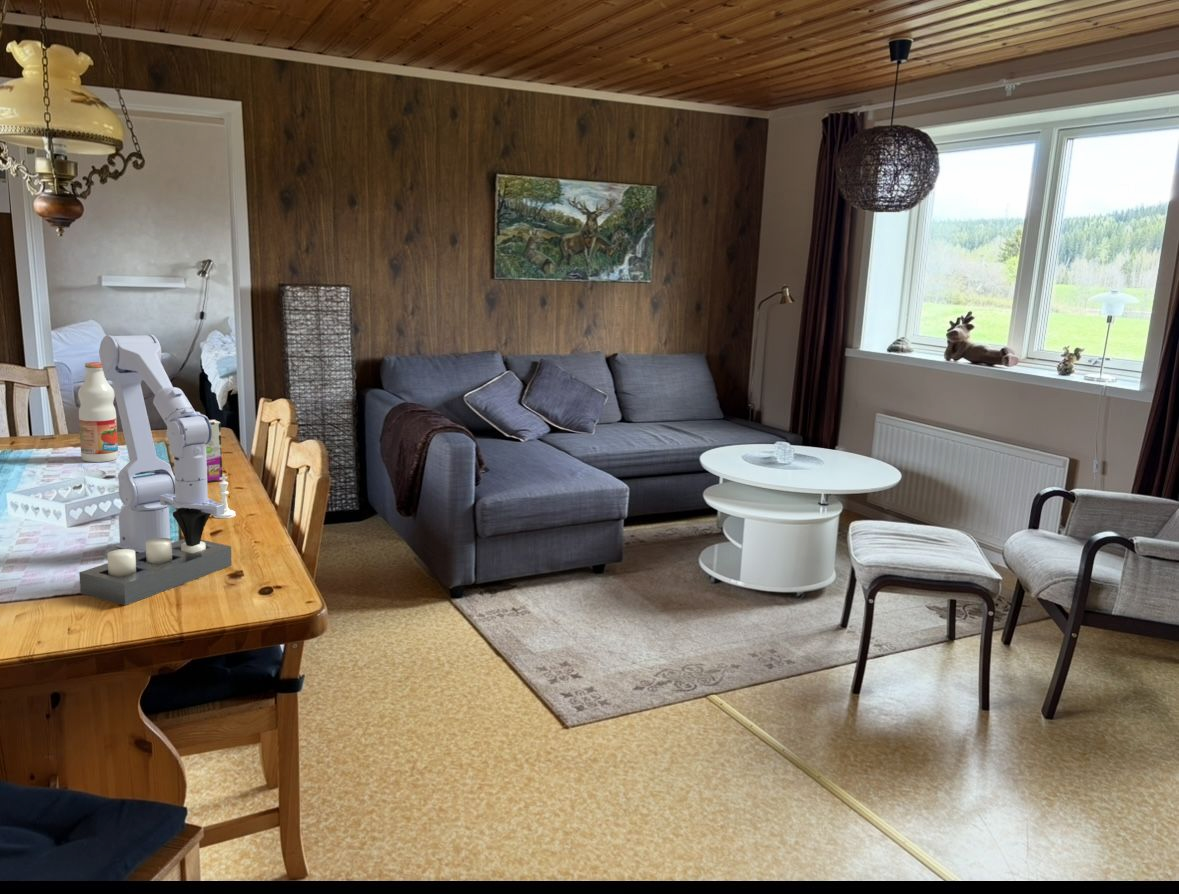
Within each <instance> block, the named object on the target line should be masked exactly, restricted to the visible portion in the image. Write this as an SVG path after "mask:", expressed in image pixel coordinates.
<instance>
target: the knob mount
mask: <svg viewBox="0 0 1179 894" xmlns="http://www.w3.org/2000/svg"><path fill="white" fill-rule="evenodd" d="M201 541H202V542H205V545H206V549H204V550H201V551H198V552H195V553H189V552H184V551H181V544H183V543H185V539H184V538H183V539H179V540H176V541H175V542H173V543H172V561H169V562H166V563H163V564H160V565H155V564H151V563H147V562H146V551H144V552H141V553H139V552H137V553H135V557H136V573H134V574H131V575H128V576H125V577H122V578H117V577H113V576H109V575H108V562H107V563H105V564H104V563H103V564H101V565H98V566H95V567H92V568H89V569H86V570H82V571H79V573H78V575H79V588H80V589H79V590H80V594H81V595H83V596H84V595H85V596H89V597H92V598H96V599H98V600H104V601H107V602H111V603H115V604H117V605H118V604H119V605H122V606H128V605H131V604H134V603H136V602H139V601H142V600H143V599H146V598H149V597H152V596H154V595H157V594H159V593H162V592H165V591H168V590H170V589H173V588H176V587H178V586H181V585H183V584H186V583H188V582H189V583H190V582H191V581H194V580H197V579H200V578H201V577H205V576H208V575H210V574H213V573H216V572H217V571H220V570H223V569H226V568H229V567H231V566H232V546H230V545H226V544H222V543H217V542H213V541H209V540H204V539H201Z"/></svg>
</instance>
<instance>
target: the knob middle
mask: <svg viewBox="0 0 1179 894" xmlns="http://www.w3.org/2000/svg"><path fill="white" fill-rule="evenodd" d="M172 541H173V540H172V539H171V538H170V539H169V538H154V539H150V540H147V541H146V562H147V563H151V564H155V565H160V564H163V563H166V562H169V561H172Z"/></svg>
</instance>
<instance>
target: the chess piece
mask: <svg viewBox="0 0 1179 894" xmlns="http://www.w3.org/2000/svg"><path fill="white" fill-rule="evenodd" d="M227 479H229V478H228V476H226V474H223V473H222V477H220V480H222V481H219V483H218V485H219V487H220V491H219V492H218V494H219V495H221V501H220V504H224V514H222V515H219V516H213V515H212V516H213V518H214V519H215V518H216V519H221V520H222V519H231V518H234V517H235V516H237V515H236V511H235V510H233V509H230V508H229V506H228V499H227V495H228V494H230V492H229V490H227V488H228V485H229V482H228V481H226V480H227Z"/></svg>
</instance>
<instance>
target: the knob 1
mask: <svg viewBox="0 0 1179 894" xmlns="http://www.w3.org/2000/svg"><path fill="white" fill-rule="evenodd" d="M135 554H136V552H135V551H134V550H131V549H122V548H118V549H115V550H112V551H109V552H107V563H108V575H109V576H113V577H117V578H122V577H125V576H128V575H131V574H134V573H136V557H135Z"/></svg>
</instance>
